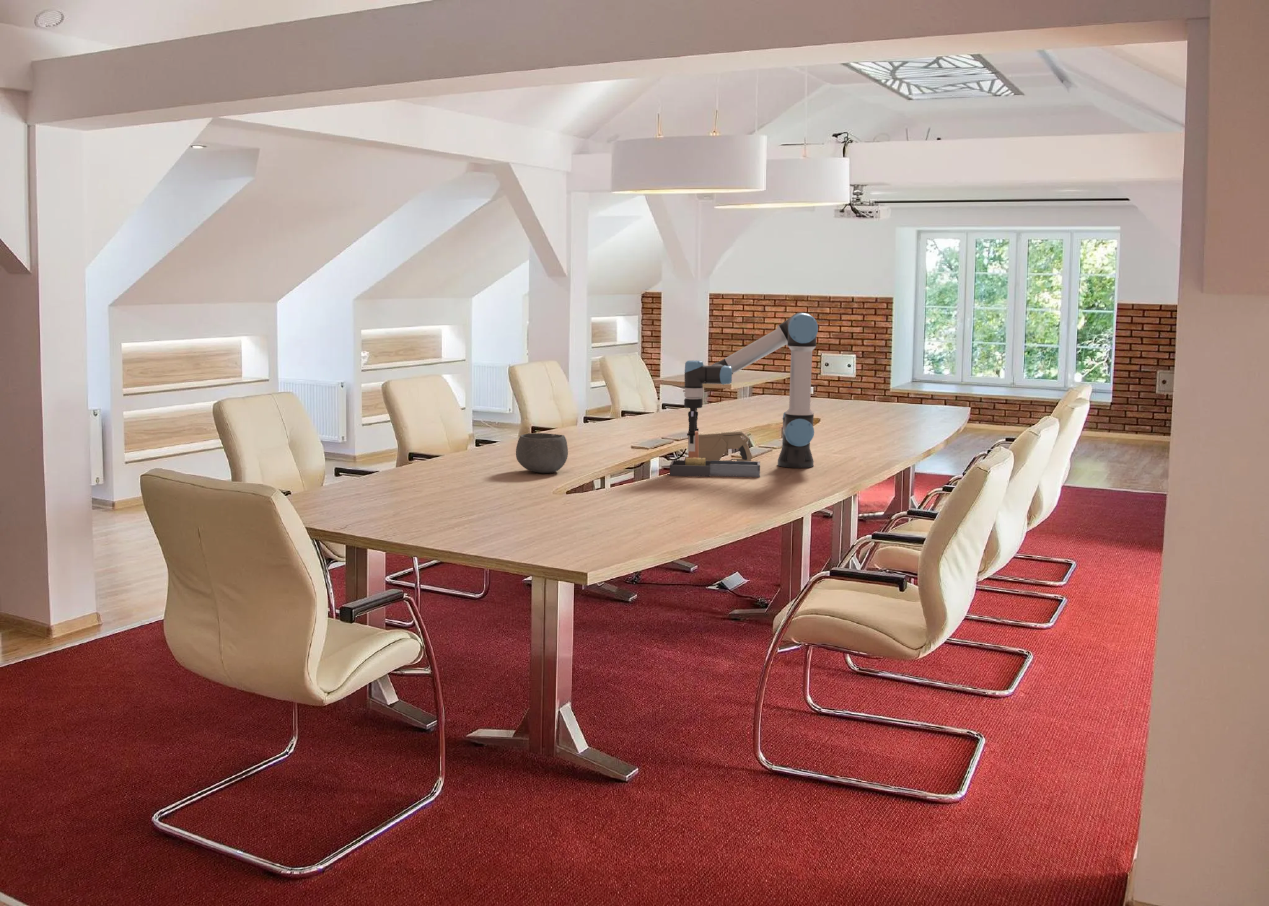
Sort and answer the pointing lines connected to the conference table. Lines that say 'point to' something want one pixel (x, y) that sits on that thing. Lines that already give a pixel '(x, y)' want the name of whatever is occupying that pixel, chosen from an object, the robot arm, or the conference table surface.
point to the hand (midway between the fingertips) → (692, 449)
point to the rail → (735, 468)
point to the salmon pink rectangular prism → (696, 453)
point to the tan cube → (700, 461)
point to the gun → (723, 445)
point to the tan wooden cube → (690, 461)
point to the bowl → (542, 452)
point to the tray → (689, 469)
